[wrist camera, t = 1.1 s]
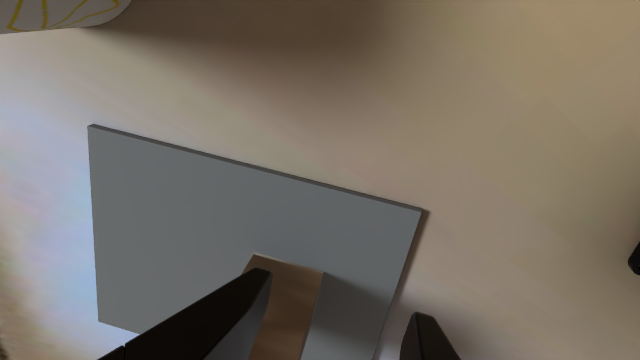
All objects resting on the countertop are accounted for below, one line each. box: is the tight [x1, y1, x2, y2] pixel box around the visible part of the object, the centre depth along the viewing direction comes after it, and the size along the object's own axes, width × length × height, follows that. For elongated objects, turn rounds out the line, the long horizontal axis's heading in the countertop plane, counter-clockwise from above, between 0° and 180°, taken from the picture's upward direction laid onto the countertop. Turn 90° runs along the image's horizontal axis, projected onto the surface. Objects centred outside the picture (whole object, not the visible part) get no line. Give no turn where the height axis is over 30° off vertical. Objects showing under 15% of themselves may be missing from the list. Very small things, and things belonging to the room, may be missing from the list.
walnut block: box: [241, 252, 324, 360], centre depth 20 cm, size 4×4×9 cm
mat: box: [87, 124, 422, 360], centre depth 24 cm, size 18×14×1 cm
